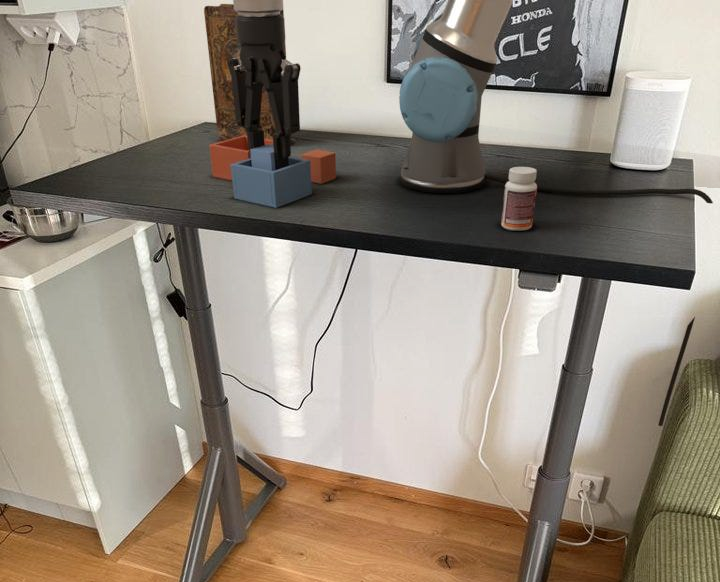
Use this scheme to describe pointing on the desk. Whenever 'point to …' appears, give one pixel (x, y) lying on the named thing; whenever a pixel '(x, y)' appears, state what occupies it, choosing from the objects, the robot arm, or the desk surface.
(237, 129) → the book
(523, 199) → the pill bottle
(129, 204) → the desk surface
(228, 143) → the clay bin
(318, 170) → the clay block
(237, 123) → the robot arm
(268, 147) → the blue block
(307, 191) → the blue bin
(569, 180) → the desk surface
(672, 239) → the desk surface
